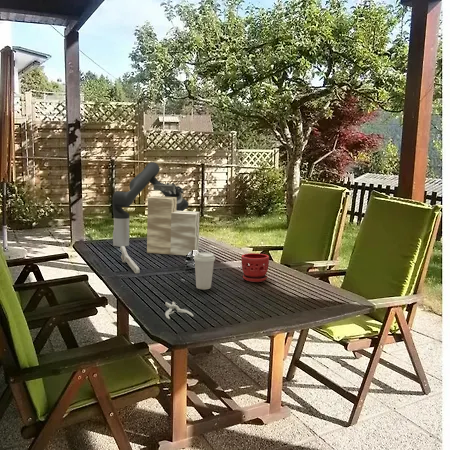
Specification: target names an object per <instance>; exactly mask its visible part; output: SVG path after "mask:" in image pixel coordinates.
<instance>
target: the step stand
mask: <svg viewBox="0 0 450 450" xmlns="http://www.w3.org/2000/svg"><path fill="white" fill-rule="evenodd" d="M200 212H201V211H190V210H184V211H177V197H166V196H165V195H163V196H162V195H161V196H160V195H152V196H149V197H147V218H146V219H147V220H146V221H147V224H146V227H147V230H146V232H147V233H146V253H147V254H159V255H160V254H162V255H171V256H172V255H173V256H174V255H175V256H186V255H187V254H188V253H189V252H190V251H192V250H198V251H199V247H200V246H199V244H200V243H199V240H200Z"/></svg>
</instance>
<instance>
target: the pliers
mask: <svg viewBox="0 0 450 450" xmlns="http://www.w3.org/2000/svg"><path fill="white" fill-rule="evenodd" d="M171 303H172V304H171ZM171 303H169V302H168V301H166V302H165V305H164V306H165V307H166V308H167V310H166V311H165V313H164V315H165V317H166V319H168V320H171V317H170V316H169V315H173V314H174V313H175V310H176V312H177V313H180V314H181V313H182V314H187V315H189V316H191V317H194V314H193V313H192V312H191V311H189V310H187V309H184V308H180V306H178V305H177V304H176V302H175V301H172V302H171Z"/></svg>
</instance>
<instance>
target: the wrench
mask: <svg viewBox="0 0 450 450" xmlns="http://www.w3.org/2000/svg"><path fill="white" fill-rule="evenodd" d="M119 251H121V255H120V258H121V260H122V263H123V264H125V263H127V265H128V266H129V267H130V268H131V270H132V271H133V272H134V274H138V275H139V274H140V271H141V270H140V267H139V266H138V265H137V264H136V262H135V261H134V260H133V259H132V258H131V257H130V256H129V254H128V252H127V249H126V246H125V247H124V246H121V247H119Z"/></svg>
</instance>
